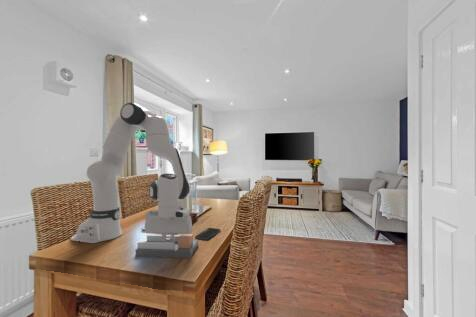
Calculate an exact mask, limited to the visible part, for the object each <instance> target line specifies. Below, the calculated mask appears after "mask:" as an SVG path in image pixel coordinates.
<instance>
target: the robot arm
mask: <svg viewBox="0 0 476 317" xmlns="http://www.w3.org/2000/svg"><path fill="white" fill-rule="evenodd" d="M119 115H120V116H119ZM119 115H118V117H117V118H116V119H115V120H114V122H113V124H112V125H111V127H110V129H109V130H108V131H109V132H108V133H107V137H106V139H105V141H104V143H103V146H102V150H103V151H102V156H101V159H100V160H98V161H95V162H93V163H92V164H90V165H89V166H88V168H87V169H86V176H87V178H88V180H89V182H90V186H91V191H92V197H93V198H92V199H93V200H92V201H93V203H92V204H93V207H92V210H90V211H88V212H87V213H88V215H89V218H87V219H86V220H84V221H83V222H82V223H80V224H79V225H78V227H77V229H76V233H75V234H74V235H72V237H70V241H72V242H73V241H74V242H79V241H80V242H81V243H88V244H96V243H99V242H103V241H104V242H105V241H110V240H113V239H116V238H119V237H121V236H122V234H123V230H122V227H121V223H120V215H121V214H120V213H121V212H120V211H121V210H120V206H119V205H120V204H119V202H120V200H119V199H120V198H119V196H120V195H119V194H120V193H119V191H118V187H117V183H116V182H117V181H116V180H117V179H118V178H120V176H121V175H122V173H123V168H124V164H125V161H126V156H127V154H128V151H129V148H130V147H131V146H130V145H131V144H132V140H133V138H134V136H135V133H136V132H138V131H140V132H141V133H145V144H146V148H147V150H148V151H149V152H150V153H151V154H152V155H154V156H156V157H159V158H162V159H164V160H166V161H168V162H169V163H170V164H171V167H172V171H173V173H163V174H160V175H159V177H158V179H157V180H153V181H152V182H150V184H149V188H148V191H149V192H148V194H149V197H150V199H151V200H153V201H156V202H158V203H157V210H148V211H147V212H145V217H144V218H145V223H144V232H145V233H147V234H161V235H162V237H163V238H164V242H172V238H173V237H174V235H177V234H178V235H181V234H191V232H192V231H193V223H192V220H191V217H190V215H189V213H190V212H191V210H190V209H189V208H186V207H184V206H181V205H180V200H184V199H185V198H186V197H187V196H188V195H189V193H190V191H191V188H190V184H189V182H188V179H187V176H186V173H185V169H184V166H183V162H182V159H181V155H180V153H179V150H178V149H177V148H175V146H174V145H173V143H172V142H171V139H170V132H169V127H168V123H167V121H166V119H165V118H164V117H163V116H159V115H157V114H156V113H154V112H152V111H151V110H149V109H147V108H145V107H143V106H141V105H140V104H137V103H135V102H128V103H125V104H124V105H123V106H122V107H121V109H120V114H119ZM168 234H169V235H170V236H171V238H167V236H166V235H168ZM80 242H79V243H80Z"/></svg>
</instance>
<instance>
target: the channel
mask: <svg viewBox="0 0 476 317" xmlns="http://www.w3.org/2000/svg"><path fill="white" fill-rule="evenodd" d="M180 235H181V234H178V235H177V234H175V235H174V237H173V238H172V242H164V238H163V237H162V234H147V235H146V241H141V240H139V241H137V243H136V244H137V248H136V249H135V257H149V258H150V257H152V258H156V257H158V258H178V259H179V258H181V259H182V258H183V259H186V258H187V259H190V258H192V256H193V254H194V253H195V251H196V249H197V248H198V246H199V239H193V244H192V245H191V247H190V248H178V238H179V237H180ZM166 236H167V238H171V236H170V234H166Z"/></svg>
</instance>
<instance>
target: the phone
mask: <svg viewBox="0 0 476 317" xmlns="http://www.w3.org/2000/svg"><path fill="white" fill-rule="evenodd" d="M220 232H221V228H215V227H213V228H212V227H208V228H206V229H205V230H203V231H202V232H200V233H198V234H197V235H195V237H194V238H195V239H194V240H200V241H205V242H207V241H210V240H211V239H212V238H214V237H215V236H217V234H219V233H220Z"/></svg>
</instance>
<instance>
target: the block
mask: <svg viewBox="0 0 476 317" xmlns="http://www.w3.org/2000/svg"><path fill="white" fill-rule="evenodd" d="M179 235H180V237H179V238H178V248H190V247H191V245H192V244H193V240H194V234H193V233H189V234H179Z"/></svg>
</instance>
